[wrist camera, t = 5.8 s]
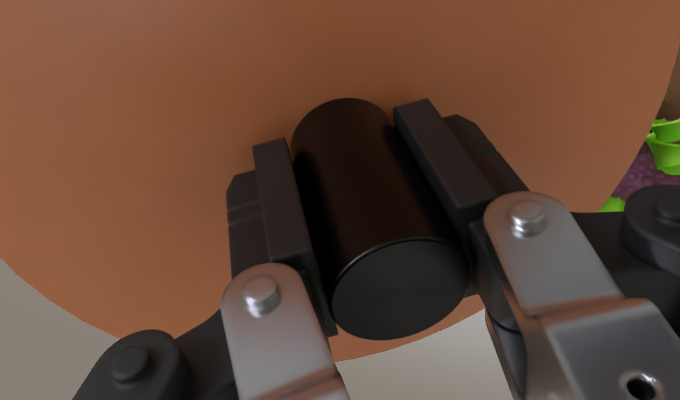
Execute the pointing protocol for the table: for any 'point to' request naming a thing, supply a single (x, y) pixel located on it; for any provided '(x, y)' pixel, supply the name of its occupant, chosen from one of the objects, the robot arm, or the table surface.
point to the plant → (655, 150)
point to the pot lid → (299, 140)
